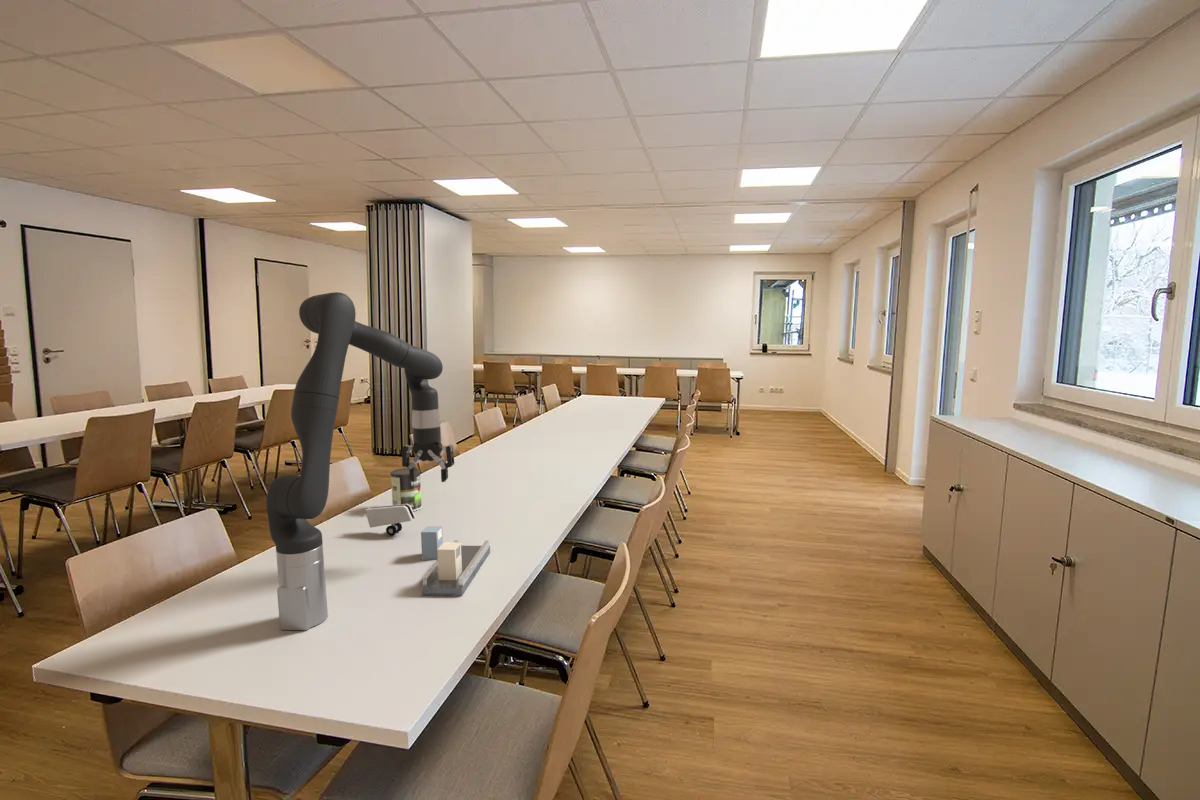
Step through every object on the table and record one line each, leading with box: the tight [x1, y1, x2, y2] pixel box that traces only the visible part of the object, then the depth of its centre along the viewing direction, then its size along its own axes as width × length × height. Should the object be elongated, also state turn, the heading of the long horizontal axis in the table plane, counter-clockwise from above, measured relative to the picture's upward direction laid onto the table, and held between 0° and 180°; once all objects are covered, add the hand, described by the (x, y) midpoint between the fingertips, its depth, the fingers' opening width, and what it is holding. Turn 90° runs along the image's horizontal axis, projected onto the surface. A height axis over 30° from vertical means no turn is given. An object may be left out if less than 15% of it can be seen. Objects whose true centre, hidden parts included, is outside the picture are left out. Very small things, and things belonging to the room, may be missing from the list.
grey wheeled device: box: [364, 504, 417, 537], centre depth 185 cm, size 4×10×15 cm
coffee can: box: [390, 467, 423, 512], centre depth 211 cm, size 10×10×14 cm
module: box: [420, 525, 444, 560], centre depth 167 cm, size 5×5×8 cm
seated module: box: [437, 541, 462, 580], centre depth 148 cm, size 5×5×8 cm
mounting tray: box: [421, 539, 491, 597], centre depth 155 cm, size 28×10×4 cm, turn 177°
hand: (429, 481), depth 165 cm, fingers open, 8 cm apart
